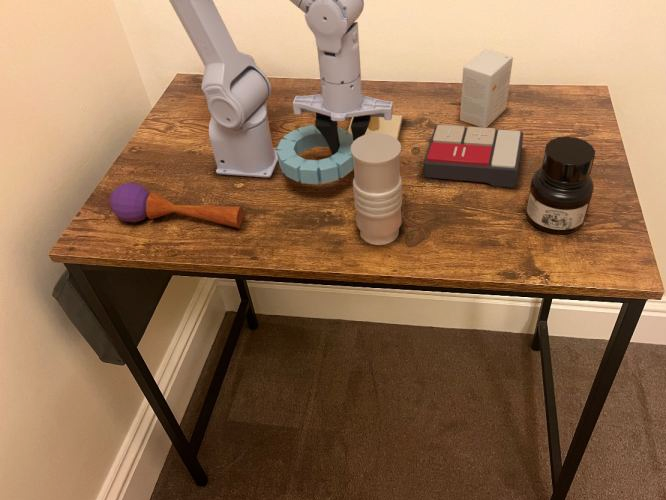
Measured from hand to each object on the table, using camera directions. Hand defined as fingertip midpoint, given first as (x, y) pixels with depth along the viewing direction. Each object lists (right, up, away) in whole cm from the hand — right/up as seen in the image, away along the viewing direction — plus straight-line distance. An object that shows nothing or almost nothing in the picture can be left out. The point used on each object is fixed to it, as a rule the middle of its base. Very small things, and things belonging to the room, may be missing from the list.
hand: (346, 154), depth 97 cm
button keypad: (+21, 0, +7) cm, 22 cm away
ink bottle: (+32, -10, -2) cm, 34 cm away
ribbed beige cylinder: (+5, -12, -3) cm, 14 cm away
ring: (-5, -1, +2) cm, 5 cm away
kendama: (-26, -11, -1) cm, 28 cm away
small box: (+24, +11, +17) cm, 32 cm away
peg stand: (+4, +7, +14) cm, 16 cm away
